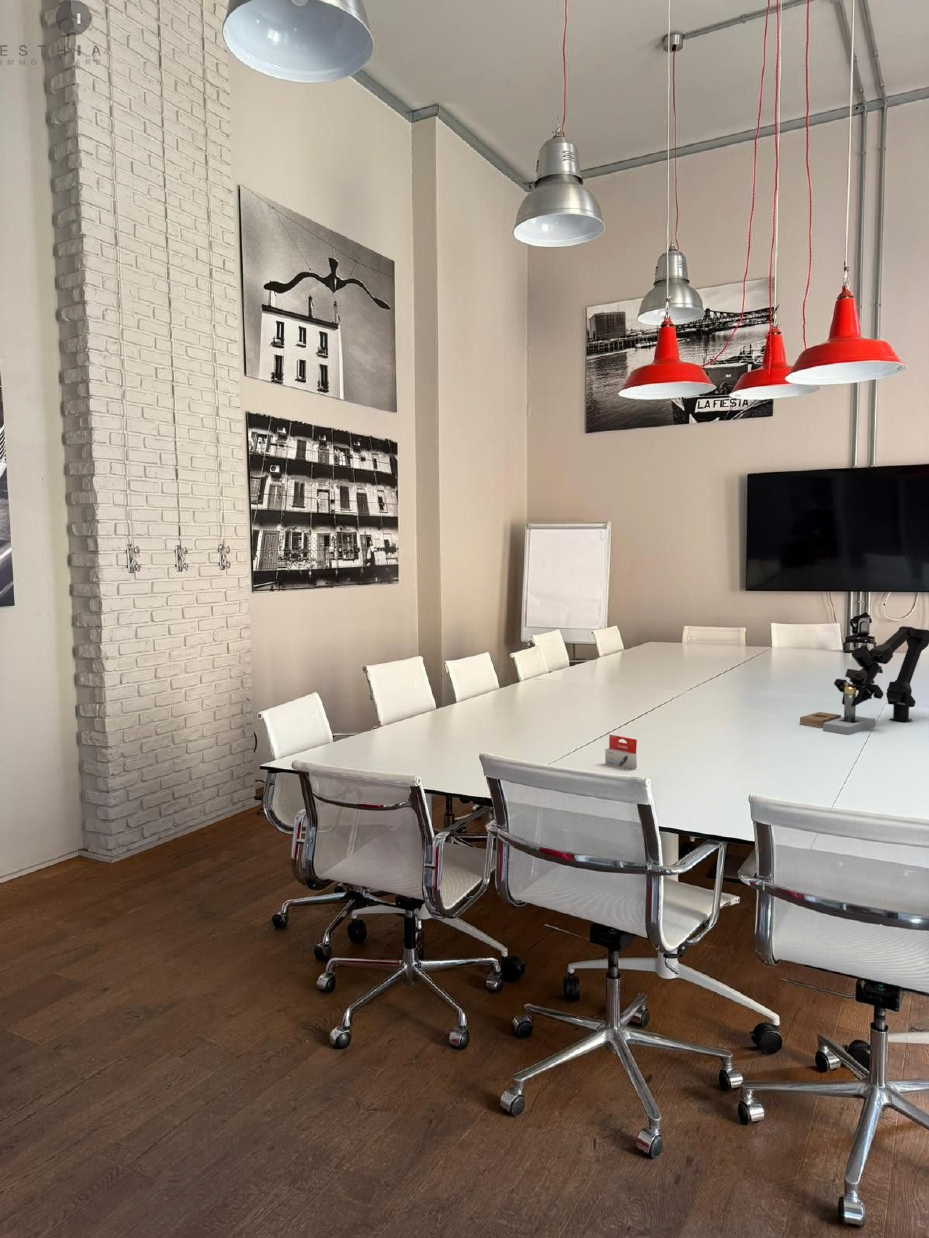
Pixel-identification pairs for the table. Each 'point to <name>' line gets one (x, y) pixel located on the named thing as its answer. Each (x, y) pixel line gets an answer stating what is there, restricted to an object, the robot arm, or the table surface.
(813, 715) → the socket block
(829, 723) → the board
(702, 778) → the table surface
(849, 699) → the gold capped metal post
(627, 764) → the ink cartridge box
